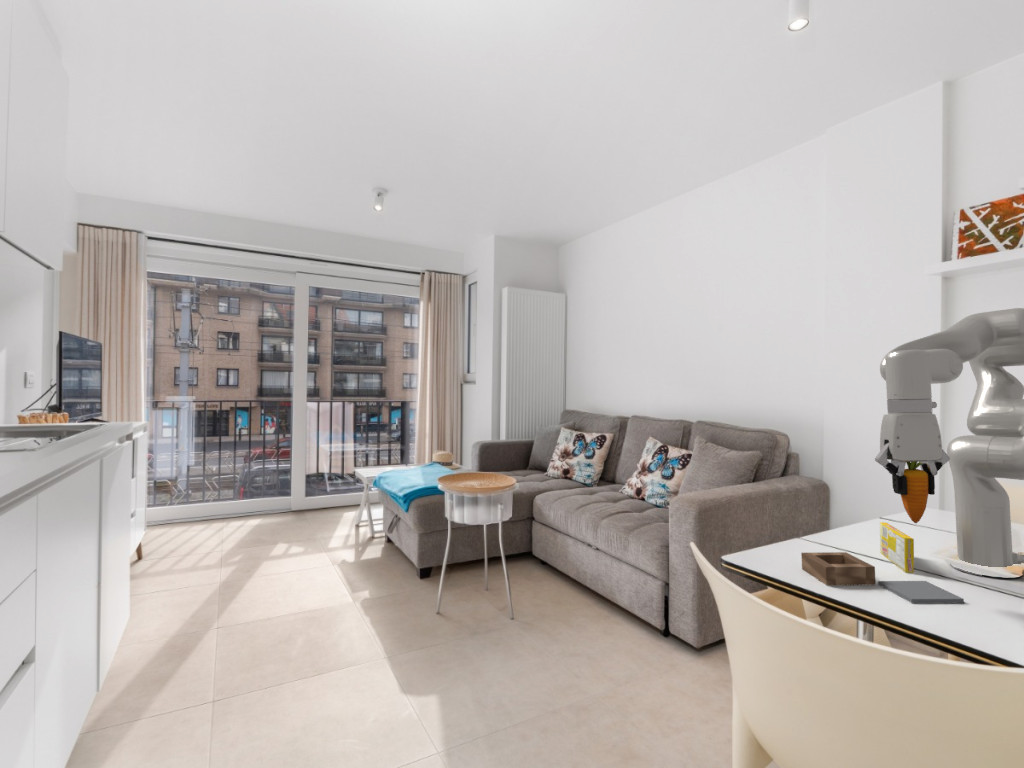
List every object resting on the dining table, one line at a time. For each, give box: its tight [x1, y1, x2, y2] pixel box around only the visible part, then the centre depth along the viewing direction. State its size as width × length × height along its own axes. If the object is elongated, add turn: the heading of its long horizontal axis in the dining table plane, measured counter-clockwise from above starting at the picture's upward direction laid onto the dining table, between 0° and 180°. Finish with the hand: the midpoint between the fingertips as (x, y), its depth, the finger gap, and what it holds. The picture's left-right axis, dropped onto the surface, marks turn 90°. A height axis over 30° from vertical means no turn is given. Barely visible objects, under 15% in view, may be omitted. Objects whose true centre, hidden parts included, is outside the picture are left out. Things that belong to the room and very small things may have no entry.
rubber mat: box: [877, 580, 965, 604], centre depth 106 cm, size 10×10×1 cm
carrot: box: [900, 462, 929, 524], centre depth 106 cm, size 5×5×15 cm
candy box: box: [879, 521, 915, 574], centre depth 125 cm, size 16×2×8 cm, turn 161°
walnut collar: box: [800, 551, 877, 586], centre depth 116 cm, size 10×10×4 cm
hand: (913, 492), depth 106 cm, fingers closed on carrot, 4 cm apart
